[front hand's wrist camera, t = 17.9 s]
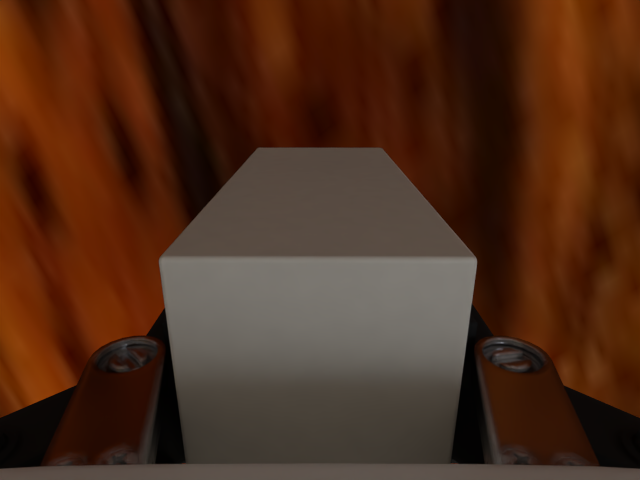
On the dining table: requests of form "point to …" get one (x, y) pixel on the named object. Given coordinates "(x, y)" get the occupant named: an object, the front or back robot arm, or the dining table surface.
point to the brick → (318, 315)
